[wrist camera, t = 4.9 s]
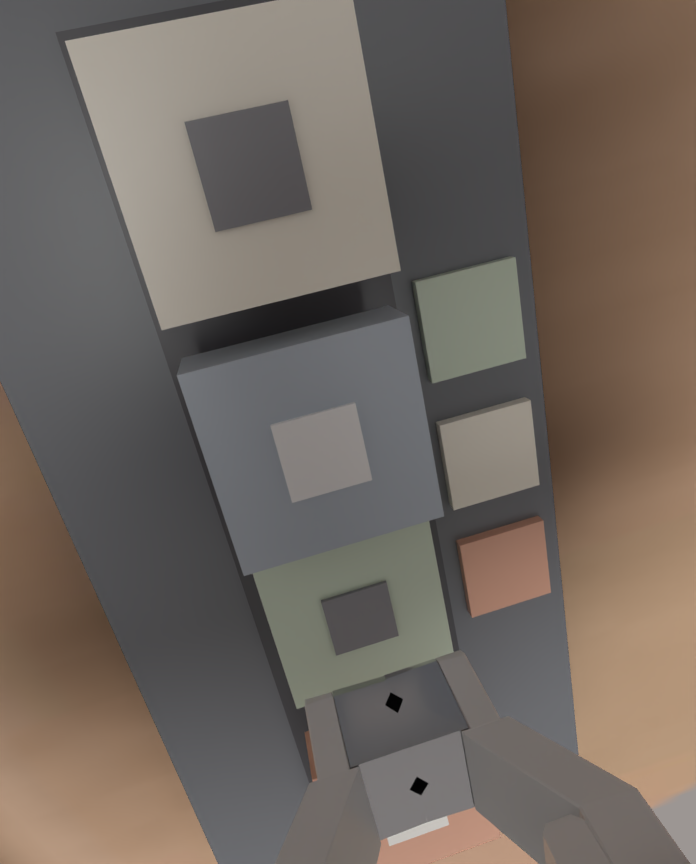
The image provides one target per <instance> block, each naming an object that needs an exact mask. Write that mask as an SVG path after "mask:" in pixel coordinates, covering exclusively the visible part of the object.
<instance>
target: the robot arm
mask: <svg viewBox="0 0 696 864" xmlns="http://www.w3.org/2000/svg"><path fill="white" fill-rule="evenodd" d="M305 711H306V717H307V722H308V728H309V734H310V740H311V746H312V752H313V757H314V763H315V769H316V775H317V781H314V782H311V783H309V785H308V787H307V790H306V792H305V794H304V797H303V799H302V801H301V804H300V806H299V808H298V811H297V813H296V815H295V818H294V820H293V823H292V825H291V827H290V830H289V832H288V834H287V837H286V839H285V841H284V844H283V846H282V848H281V851H280V853H279V855H278V858H277V860H276V862H275V864H377V860H378V856H379V852H380V847H381V841H380V840H383V839H385V838H388V837H391V836H393V835H396V834H398V833H401V832H403V831H406V830H409V829H411V828H414V827H416V826H419V825H422V824H424V823H427V822H430V821H433V820H436V819H439V818H442V817H445V816H449V815H452V814H455V813H458V812H461V811H464V810H467V809H471V808H474V807H475V809H476V811H478V812H479V813H480V814H481V815H482V816H483V817H485V818H486V819H487V820H488V821H489V822H491V823H492V824H493V825H494V826H495V827H496V828H498V829H499V830H500V831H501V832H502V833H504V834H505V835H506V836H507V837H508V838H509V839H511V840H512V841H513V842H514V843H515V844H517V845H518V846H519V847H520V848H521V849H522V850H524V851H525V852H526V853H527V854H528V855H530V856H531V857H532V858H533V859H534V860H535V861H537V862H538V863H539V864H690V862H689V861H688V860H687V859H686V857H685V855H684V854H683V853H682V851H681V850H680V848H679V847H678V846H677V844H676V843H675V842H674V840H673V839H672V837H671V836H670V835H669V833H668V832H667V830H666V829H665V827H664V826H663V825H662V823H661V822H660V820H659V819H658V818H657V816H656V815H655V813H654V812H653V811H652V809H651V808H650V806H649V805H648V804H647V802H646V801H645V799H644V798H643V797H642V795H641V794H640V792H639V791H638V790H637V788H635V787H633V786H631V785H630V784H628V783H626V782H624V781H622V780H621V779H619V778H617V777H615V776H614V775H612V774H610V773H608V772H607V771H605V770H603V769H601V768H599V767H598V766H596V765H594V764H592V763H591V762H589V761H587V760H585V759H583V758H582V757H580V756H578V755H576V754H575V753H573V752H571V751H569V750H568V749H566V748H564V747H562V746H560V745H559V744H557V743H555V742H553V741H552V740H550V739H548V738H546V737H545V736H543V735H541V734H539V733H537V732H536V731H534V730H532V729H530V728H529V727H527V726H525V725H523V724H521V723H520V722H518V721H516V720H514V719H513V718H511V717H509V716H507V717H504V718H500V717H499V715H498V713H497V711H496V710H495V708H494V706H493V704H492V702H491V700H490V699H489V697H488V695H487V693H486V691H485V690H484V688H483V686H482V684H481V682H480V681H479V679H478V677H477V675H476V673H475V671H474V670H473V668H472V666H471V664H470V662H469V661H468V659H467V657H466V655H465V653H464V652H462V651H461V650H459V651H455V652H452V653H449V654H446V655H443V656H440V657H437V658H435V659H431V660H428V661H425V662H422V663H419V664H416V665H413V666H410V667H407V668H404V669H401V670H398V671H395V672H392V673H389V674H386V675H384V676H382V677H378V678H375V679H372V680H368V681H365V682H361V683H358V684H355V685H351V686H348V687H344V688H341V689H337V690H334V691H333V693H332V692H329V693H326V694H323V695H319V696H316V697H312V698H309V699H305Z"/></svg>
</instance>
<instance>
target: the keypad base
mask: <svg viewBox="0 0 696 864" xmlns="http://www.w3.org/2000/svg"><path fill="white" fill-rule="evenodd" d="M270 1H275V0H0V382H1V384H2V386H3V388H4V390H5V393H6V395H7V397H8V399H9V402H10V404H11V406H12V408H13V410H14V413H15V415H16V417H17V419H18V421H19V424H20V426H21V428H22V430H23V433H24V435H25V437H26V439H27V441H28V444H29V446H30V448H31V450H32V452H33V455H34V457H35V459H36V461H37V464H38V466H39V468H40V470H41V472H42V475H43V477H44V479H45V481H46V484H47V486H48V488H49V490H50V492H51V495H52V497H53V499H54V501H55V503H56V506H57V508H58V510H59V512H60V515H61V517H62V519H63V521H64V523H65V526H66V528H67V530H68V532H69V534H70V537H71V539H72V541H73V543H74V546H75V548H76V550H77V552H78V554H79V557H80V559H81V561H82V563H83V565H84V568H85V570H86V572H87V574H88V577H89V579H90V581H91V583H92V585H93V588H94V590H95V592H96V594H97V596H98V599H99V601H100V603H101V605H102V608H103V610H104V612H105V614H106V616H107V619H108V621H109V623H110V625H111V627H112V630H113V632H114V634H115V636H116V639H117V641H118V643H119V645H120V647H121V650H122V652H123V654H124V656H125V658H126V661H127V663H128V665H129V667H130V670H131V672H132V674H133V676H134V678H135V681H136V683H137V685H138V687H139V690H140V692H141V694H142V696H143V698H144V701H145V703H146V705H147V707H148V709H149V712H150V714H151V716H152V718H153V721H154V723H155V725H156V727H157V729H158V732H159V734H160V736H161V738H162V740H163V743H164V745H165V747H166V749H167V752H168V754H169V756H170V758H171V760H172V763H173V765H174V767H175V769H176V771H177V774H178V776H179V778H180V780H181V783H182V785H183V787H184V789H185V791H186V794H187V796H188V798H189V800H190V802H191V805H192V807H193V809H194V811H195V814H196V816H197V818H198V820H199V822H200V825H201V827H202V829H203V831H204V833H205V836H206V838H207V840H208V842H209V845H210V847H211V849H212V851H213V853H214V856H215V858H216V860H217V862H218V864H275V862H276V860H277V858H278V855H279V853H280V851H281V848H282V846H283V844H284V841H285V839H286V837H287V834H288V832H289V830H290V827H291V825H292V823H293V820H294V818H295V815H296V813H297V811H298V808H299V806H300V804H301V801H302V799H303V797H304V794H305V792H306V790H307V787H308V785H309V783H311V782H313V781H312V776H311V770H310V764H309V758H308V751H307V745H306V739H305V733H304V732H307V731H309V728H308V722H307V717H306V711H305V707H302V708H299V709H297V708H296V705H295V702H294V699H293V696H292V693H291V690H290V687H289V684H288V681H287V678H286V675H285V672H284V668H283V665H282V662H281V659H280V656H279V653H278V650H277V647H276V644H275V641H274V638H273V635H272V632H271V629H270V626H269V623H268V620H267V617H266V614H265V611H264V607H263V604H262V601H261V598H260V595H259V592H258V589H257V586H256V583H255V580H254V577H253V574H249V575H246V576H244V575H243V572H242V569H241V566H240V563H239V560H238V557H237V554H236V551H235V548H234V545H233V542H232V539H231V536H230V533H229V530H228V527H227V524H226V521H225V518H224V515H223V512H222V509H221V506H220V503H219V500H218V497H217V494H216V491H215V488H214V485H213V482H212V479H211V477H210V474H209V471H208V468H207V465H206V462H205V459H204V456H203V453H202V450H201V447H200V444H199V441H198V438H197V435H196V432H195V429H194V426H193V423H192V420H191V417H190V414H189V411H188V408H187V405H186V402H185V399H184V396H183V393H182V390H181V387H180V384H179V381H178V378H177V373H178V370H179V366H180V363H181V359H182V358H185V357H188V356H192V355H196V354H200V353H204V352H208V351H212V350H216V349H220V348H224V347H228V346H232V345H236V344H239V343H243V342H247V341H251V340H255V339H259V338H263V337H267V336H271V335H275V334H279V333H283V332H286V331H290V330H294V329H298V328H302V327H306V326H310V325H314V324H318V323H322V322H326V321H330V320H333V319H337V318H341V317H345V316H349V315H353V314H357V313H361V312H365V311H369V310H373V309H377V308H381V307H384V306H388V305H389V306H391V307H393V308H395V309H397V310H399V311H401V312H402V313H404V314H406V315H408V316H409V320H410V325H411V331H412V337H413V342H414V348H415V354H416V359H417V365H418V371H419V376H420V382H421V388H422V393H423V399H424V405H425V410H426V416H427V422H428V427H429V433H430V439H431V444H432V450H433V456H434V461H435V467H436V473H437V478H438V484H439V490H440V495H441V501H442V507H443V512H444V517H440V518H437V519H434V520H430V521H429V523H430V528H431V534H432V539H433V544H434V550H435V555H436V560H437V566H438V571H439V576H440V582H441V587H442V592H443V598H444V603H445V608H446V614H447V619H448V624H449V630H450V635H451V640H452V646H453V651H454V652H455V651H459V650H461V651H462V652H464V653H465V655H466V657H467V659H468V661H469V662H470V664H471V666H472V668H473V670H474V671H475V673H476V675H477V677H478V679H479V681H480V682H481V684H482V686H483V688H484V690H485V691H486V693H487V695H488V697H489V699H490V700H491V702H492V704H493V706H494V708H495V710H496V711H497V713H498V715H499V717H500V718H504V717H507V716H509V717H511V718H513V719H514V720H516V721H518V722H520V723H521V724H523V725H525V726H527V727H529V728H530V729H532V730H534V731H536V732H537V733H539V734H541V735H543V736H545V737H546V738H548V739H550V740H552V741H553V742H555V743H557V744H559V745H560V746H562V747H564V748H566V749H568V750H569V751H571V752H573V753H575V754H576V755H578V746H577V735H576V725H575V715H574V704H573V694H572V683H571V673H570V663H569V652H568V642H567V632H566V621H565V611H564V601H563V590H562V580H561V570H560V559H559V549H558V539H557V528H556V518H555V508H554V497H553V487H552V477H551V466H550V456H549V445H548V435H547V425H546V414H545V404H544V394H543V383H542V373H541V363H540V352H539V342H538V332H537V321H536V311H535V301H534V290H533V280H532V270H531V259H530V249H529V239H528V228H527V218H526V207H525V197H524V187H523V176H522V166H521V156H520V145H519V135H518V125H517V114H516V104H515V94H514V83H513V73H512V63H511V52H510V42H509V32H508V21H507V11H506V1H505V0H353V2H354V8H355V14H356V19H357V25H358V31H359V36H360V42H361V48H362V53H363V59H364V65H365V70H366V76H367V82H368V87H369V93H370V99H371V104H372V110H373V116H374V121H375V127H376V133H377V138H378V144H379V150H380V155H381V161H382V167H383V172H384V178H385V184H386V189H387V195H388V201H389V206H390V212H391V218H392V223H393V229H394V235H395V240H396V246H397V252H398V257H399V263H400V269H401V271H398V272H394V273H390V274H386V275H382V276H378V277H374V278H370V279H366V280H362V281H358V282H354V283H350V284H346V285H342V286H338V287H334V288H330V289H326V290H322V291H318V292H314V293H310V294H306V295H302V296H298V297H294V298H290V299H286V300H282V301H278V302H273V303H269V304H265V305H261V306H257V307H253V308H249V309H245V310H241V311H237V312H233V313H229V314H225V315H221V316H217V317H213V318H209V319H205V320H201V321H197V322H193V323H189V324H185V325H181V326H177V327H173V328H169V329H165V330H161V327H160V324H159V321H158V318H157V315H156V312H155V309H154V306H153V303H152V300H151V297H150V294H149V291H148V288H147V285H146V282H145V279H144V276H143V273H142V270H141V267H140V264H139V261H138V258H137V255H136V252H135V249H134V246H133V243H132V240H131V238H130V235H129V232H128V229H127V226H126V223H125V220H124V217H123V214H122V211H121V208H120V205H119V202H118V199H117V196H116V193H115V190H114V187H113V184H112V181H111V178H110V175H109V172H108V169H107V166H106V163H105V160H104V157H103V154H102V151H101V148H100V145H99V142H98V139H97V136H96V133H95V130H94V127H93V124H92V121H91V118H90V115H89V112H88V109H87V106H86V103H85V100H84V97H83V94H82V91H81V88H80V85H79V82H78V79H77V76H76V73H75V70H74V67H73V64H72V61H71V58H70V55H69V52H68V49H67V46H66V43H65V41H67V40H73V39H78V38H83V37H88V36H93V35H99V34H104V33H109V32H114V31H119V30H124V29H130V28H135V27H140V26H145V25H150V24H156V23H161V22H166V21H171V20H176V19H182V18H187V17H192V16H197V15H202V14H208V13H213V12H218V11H223V10H228V9H234V8H239V7H244V6H249V5H254V4H260V3H265V2H270Z"/></svg>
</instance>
